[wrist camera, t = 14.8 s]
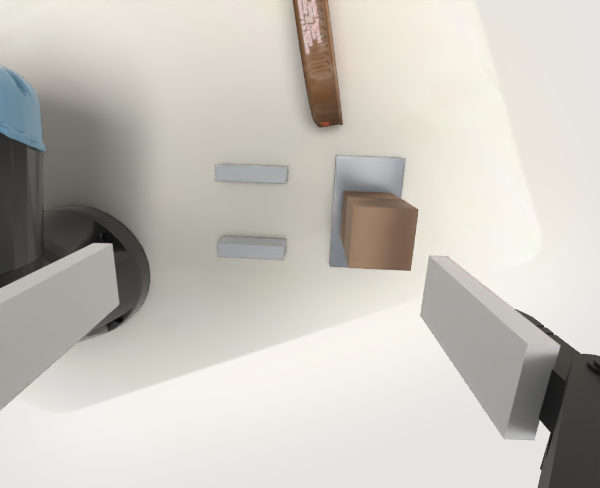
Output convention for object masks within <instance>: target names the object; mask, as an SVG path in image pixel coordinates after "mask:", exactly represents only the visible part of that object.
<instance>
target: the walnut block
mask: <svg viewBox="0 0 600 488" xmlns="http://www.w3.org/2000/svg"><path fill="white" fill-rule="evenodd" d="M417 217H418V209H416V208H415V207H413V206H412V205H410V204H409V203H407V202H406V201H404V200H402V199H401V198H399V197H398V196H396V195H395V194H393V193H388V192H363V191H344V194H343V208H342V223H341V240H342V244H343V248H344V252H345V255H346V259H347V263H348V267H349V268H363V269H385V270H406V271H411V264H412V256H413V248H414V241H415V233H416V225H417Z"/></svg>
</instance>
